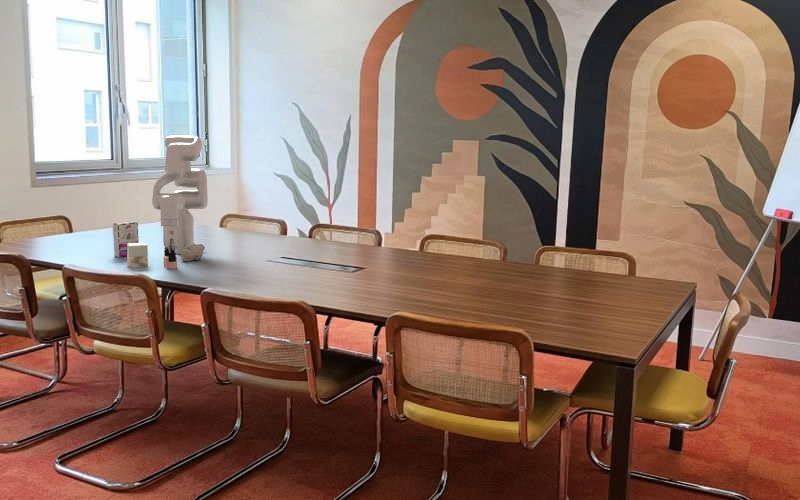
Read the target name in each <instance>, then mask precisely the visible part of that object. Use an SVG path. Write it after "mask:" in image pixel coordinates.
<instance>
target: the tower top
mask: <svg viewBox="0 0 800 500" xmlns="http://www.w3.org/2000/svg"><path fill="white" fill-rule="evenodd" d="M148 247H149V246H148V244H147V243H146V242H139V243H127V254H128V256H129V257H137V256H148V255H149V253H148V252H149V251H148Z"/></svg>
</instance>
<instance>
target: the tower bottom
mask: <svg viewBox="0 0 800 500" xmlns="http://www.w3.org/2000/svg"><path fill="white" fill-rule="evenodd" d="M126 259H127V261H126V264H127V266H128V268H142V267H141V266H148V267H149V257H148V256H137V257H129V256H128V254H127V256H126Z"/></svg>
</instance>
